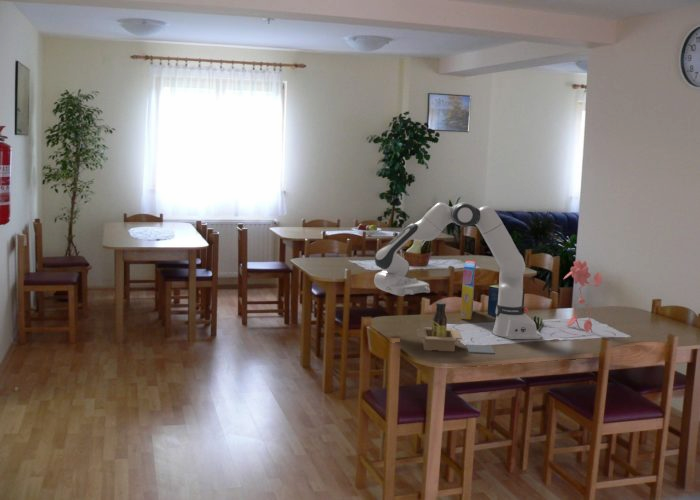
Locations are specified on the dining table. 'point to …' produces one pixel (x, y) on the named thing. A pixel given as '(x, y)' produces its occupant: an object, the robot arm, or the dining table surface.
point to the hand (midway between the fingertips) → (421, 291)
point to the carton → (439, 339)
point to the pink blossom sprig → (581, 274)
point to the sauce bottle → (439, 321)
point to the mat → (480, 349)
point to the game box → (468, 290)
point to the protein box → (496, 299)
